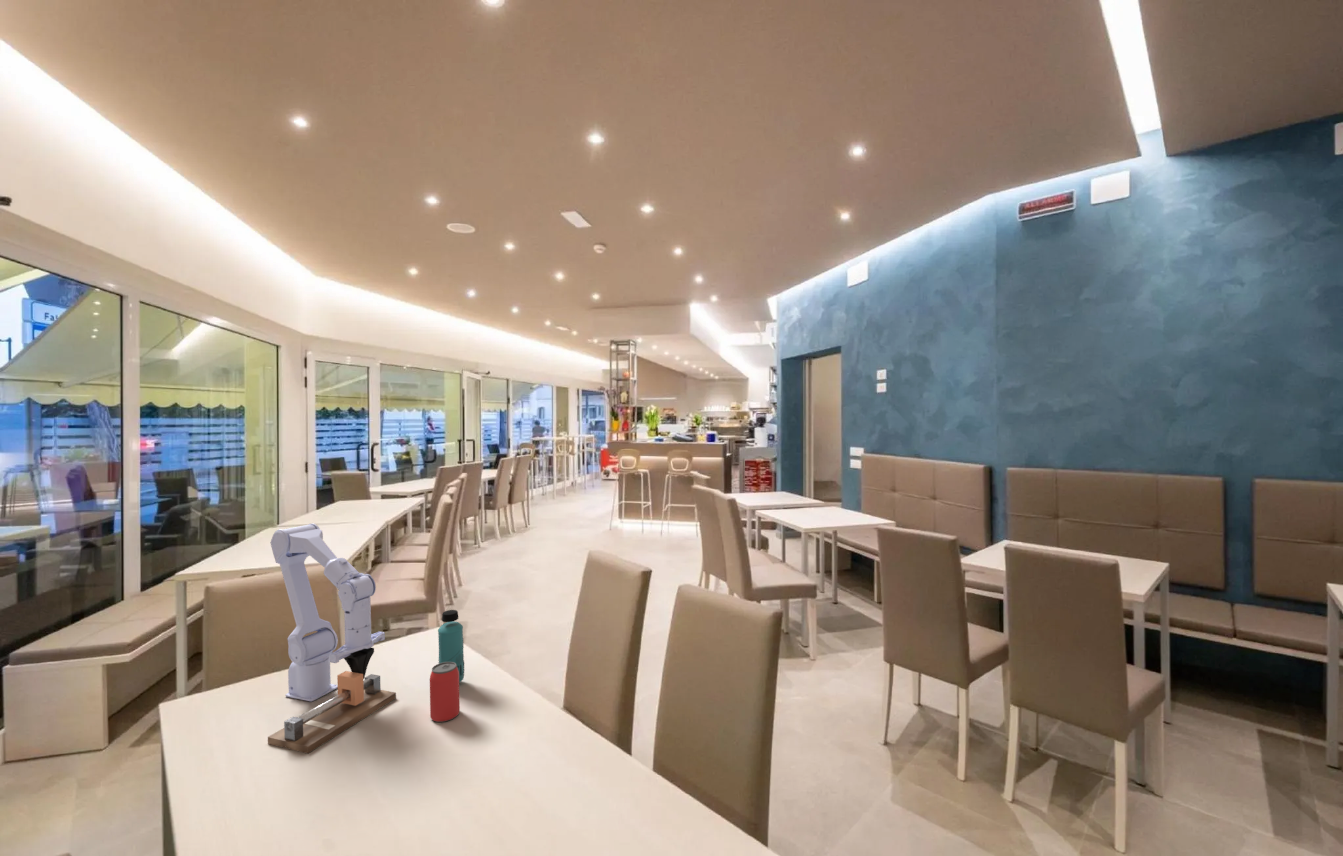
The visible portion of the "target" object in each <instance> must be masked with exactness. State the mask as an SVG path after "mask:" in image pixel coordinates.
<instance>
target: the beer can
mask: <svg viewBox="0 0 1343 856" xmlns="http://www.w3.org/2000/svg"><path fill="white" fill-rule="evenodd" d="M429 676H430V677H429V701H430V702H429V707H430V708H429V709H430V710H429V711H430V715H429V716H430V718H431V720H432V721H433V722H436V723H444V722H445V723H446V722H448V721H452V720H453V719H455V718H457V716H458V715H459V714H460V709H461V706H460V703H461V701H460V682H459V671H458V668H457V664H456V663H454V662H443V663H437V664H435V665H434V666H433V667H432V668H431V673H430V675H429Z"/></svg>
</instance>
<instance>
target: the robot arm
mask: <svg viewBox="0 0 1343 856" xmlns="http://www.w3.org/2000/svg"><path fill="white" fill-rule="evenodd" d="M270 547H271V550H272V554H273V558H274V560H275V561H274V562H275V563H276V564H279V568H280V570H281V571H280V572H281V575H282V578H283V581H284V585H285V589H286V592H287V596H288V600H289V603H290V608H291V610H292V615H293V619H294V622H295V627H294V629H293V630H292V632H291V633H289V635H288V637H287V644H288V650H287V651H288V653H287V654H288V657H289V659H290V660H291V663H290V665H289V666H288V667H289V668H288V670H287V672H288V673H287V678H288V681H287V682H288V683H287V684H288V692H287V693H285V695H284V696H285V697H288V698H292V699H295V700H296V699H298V700H302V701H307V702H314V701H316V700H318V699H320V698H322V697H323V696H325V695H327V694H329V693H331V692H333V691H335V690H336V689H337V690H338V684H334V683H332V682H331V681H332V680H331V678H332V677H331V664H337V663H339V662H340V661H341V660H343V659H344V660H345V662H346V663H347V665H348V667H349V669H350V672H355V673H361V674H363V680H365V677H366V673H367V669H368V666H369V662H370V660H371V658H372V656H373V655H374V653H375V648H374V644H376V643H378V642H381V641H385V640H386V635H385V632H384V631H377V632H375V633H372V613H371V611H372V609H371V607H372V605H371V597H373V596H374V595H375V593H376V590H377V586H376V582H375V579H374V578H373V577H372V575H371V574H369V573H364V572H359V571H358V570H357V569H356V568H355V567H354V566H353V565H352V564H351V563H350V562H349V561H348V560H347V558H344V557H338V556H337V555H335V553H334V552H333V551H332V549H331V548H330V547H329V546H328V544H327V543H326V542H325V541H324V533H323V530H322V529H321V528H320V527H319V526H318V525H317V524H316V523H313V522H312V523H309V524H305V525H299V526H295V527H289V528H284V529H282V528H280V529H276V530H275V531H274V533H273V534H272V537H271V540H270ZM309 556H310V557H311V558H312V559H313V560H315V561H316V562H317V563H319V564H320V565H321V566H322V567H323V568H324V570H323V576H325V577H326V578H327V580H328V581H330V583H331V584H332V585H333V586H334V587H335V588H336V589H337V590H338V591H337V594H338V598H339V600H340V603H341V608H342V611H343V612H344V613H343V614H344V644H343V645H342V646H340V647H339V648H338V649H336V648H337V646H338V642H339V640H338V639H339V638H338V635H337V633H336V632H335V630H334V628H333V627H332V624H331V622H330V621H328V620H324V619H322V618H320V614H319V611H318V608H317V605H316V602H315V601H316V600H315V596H314V594H313V590H312V585H311V583H310V579H309V576H308V571H307V568H306V565H305V561H306V560H307V558H308V557H309ZM308 634H309V635H308ZM305 635H306V636H305Z"/></svg>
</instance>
